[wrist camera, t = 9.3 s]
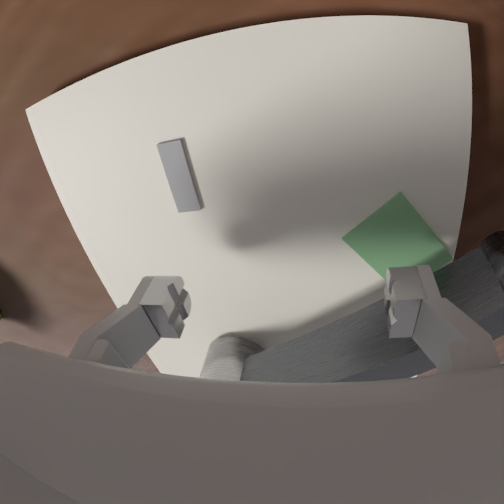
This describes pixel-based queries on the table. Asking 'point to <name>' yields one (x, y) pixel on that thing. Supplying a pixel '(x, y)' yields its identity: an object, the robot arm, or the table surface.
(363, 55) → the dial board
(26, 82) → the table surface
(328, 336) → the grey lever handle
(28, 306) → the table surface
